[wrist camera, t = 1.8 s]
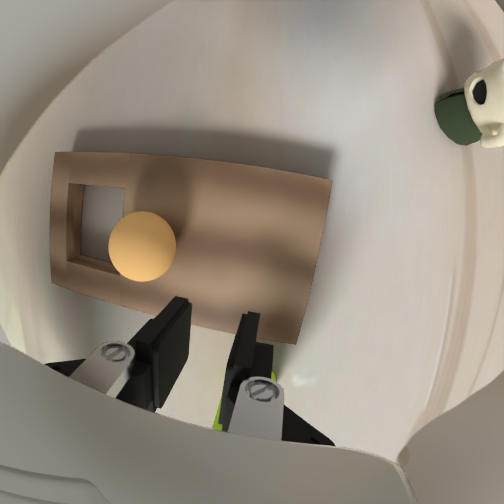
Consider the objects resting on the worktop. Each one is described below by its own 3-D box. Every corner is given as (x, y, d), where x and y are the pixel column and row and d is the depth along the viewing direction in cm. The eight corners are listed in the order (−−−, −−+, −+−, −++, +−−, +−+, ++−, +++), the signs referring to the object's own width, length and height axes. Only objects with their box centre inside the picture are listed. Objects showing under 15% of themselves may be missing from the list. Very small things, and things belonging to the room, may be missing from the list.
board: (295, 330, 30) (296, 344, 27) (65, 276, 32) (51, 282, 29) (326, 181, 26) (332, 180, 23) (70, 153, 28) (55, 152, 25)
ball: (182, 275, 26) (157, 299, 21) (128, 263, 27) (95, 282, 21) (188, 213, 25) (162, 221, 19) (132, 204, 25) (96, 210, 20)
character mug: (446, 69, 21) (509, 31, 9) (486, 110, 22) (555, 92, 9) (413, 132, 24) (488, 105, 11) (457, 174, 24) (538, 176, 12)
